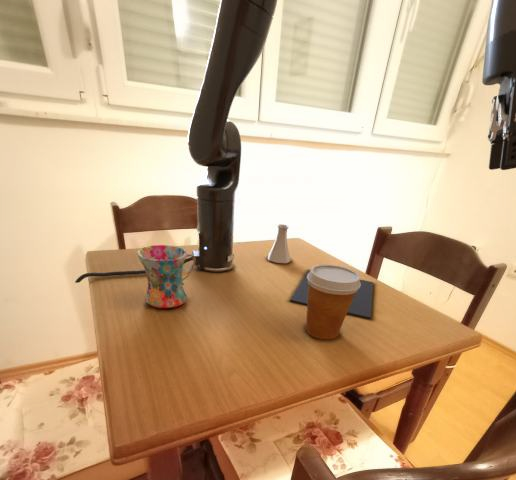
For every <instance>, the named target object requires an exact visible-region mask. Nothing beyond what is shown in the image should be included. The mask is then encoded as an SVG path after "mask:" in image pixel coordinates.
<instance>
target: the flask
mask: <svg viewBox="0 0 516 480" xmlns="http://www.w3.org/2000/svg"><path fill="white" fill-rule="evenodd" d="M288 229H289V225H287V224H277V233H276V237H275V240H274V242H273V244H272V247H271V249H270V251H269V253H268V255H267V260H268V261H269V262H272V263H275V264H288V263H289V262H291V261H292V260H291V254H290V250H289V244H288Z"/></svg>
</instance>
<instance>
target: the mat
mask: <svg viewBox="0 0 516 480" xmlns="http://www.w3.org/2000/svg"><path fill="white" fill-rule="evenodd" d="M310 270H311V269H307V271H306V273H305V274H304V276H303V278H302V280H301V281H300V283H299V284H298V286H297V288H296V290H295V291H294V293H293V294H292V295H291V298H290V299H289V302H290V303H294V304H295V303H296V304H301V305H305V306H307V302H308V280H307V274H308V273H310ZM360 283H361V286H360V288H359V289H358V290H357V292H356V293H355V295H354V298H353V300H352V302H351V305H350V307H349V310H348V312H347V314H346V315H351V316H355V317H358V318H363V319H368V320H371V319H372V308H373V292H374V281H369V280H363V279H360Z"/></svg>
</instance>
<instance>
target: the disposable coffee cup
mask: <svg viewBox="0 0 516 480" xmlns="http://www.w3.org/2000/svg"><path fill="white" fill-rule="evenodd" d="M309 270H310V273H308V274H307V280H308V302H307V305H306V321H305V324H306V325H305V330H306V333H307V334H309V335H310V336H311V337H313V338H316V339H319V340H334V339H336V338H337V337H338V335H339V333H340V331H341V328H342V326H343V324H344V321H345V319H346V317H347V315H348V314H347V312H348V310H349V307H350V305H351V302H352V300H353V298H354V295H355V293H356V292H357V290H358V289H359V288H360V286H361V283H360V280H361V276H360V274H359V273H358V272H357V271H356V270H353V269H351V268H348V267H345V266H341V265H335V264H328V263H327V264H326V263H325V264H317V265H314V266H312V267H311V269H309Z"/></svg>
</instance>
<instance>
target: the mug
mask: <svg viewBox="0 0 516 480" xmlns="http://www.w3.org/2000/svg"><path fill="white" fill-rule="evenodd" d="M136 255H137V257H138V259H139V261H140V263H141V265H142V268H143V270H145V272H146V274H145V275H146V281H147V290H146V294H145V297H144V300H145V302H146V303H147V304H148V305H149V306H152V307H153V308H159V309H171V308H177V307H179V306H181V305H183V304H185V303H186V301H187V300H188V296H187V293H186V292H185V290H184V285H185V283H184V282H183V281H185V280H186V279H187V278H189V276H190V275H191V274H192V272H193V271H194V268H195V267H196V265H195V263H196V259H195V257H194V256H193V255H192V253H188V252H187V250H186V249H184V248H182V247H180V246H176V245H167V244H153V245H148V246H144V247H142V248H139V249H138V250H137V252H136ZM189 257H192V258H193V260H192V264H191V266H190V268H189V270H188V272H186V274H185V275H184V276H183V268H184V261H185V259H187V258H189Z"/></svg>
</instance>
